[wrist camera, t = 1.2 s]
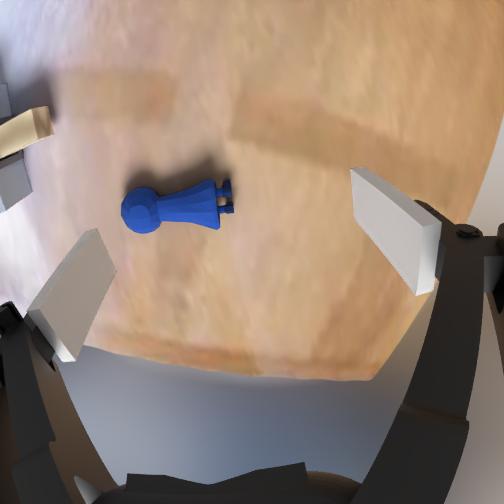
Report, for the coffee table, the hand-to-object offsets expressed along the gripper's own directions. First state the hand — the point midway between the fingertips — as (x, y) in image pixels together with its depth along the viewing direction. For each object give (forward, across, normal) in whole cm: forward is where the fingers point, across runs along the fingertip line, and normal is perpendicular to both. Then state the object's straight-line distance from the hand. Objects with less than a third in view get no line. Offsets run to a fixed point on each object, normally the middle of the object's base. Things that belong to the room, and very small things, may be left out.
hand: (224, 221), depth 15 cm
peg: (+24, -30, +11) cm, 40 cm away
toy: (+26, -8, -7) cm, 28 cm away
